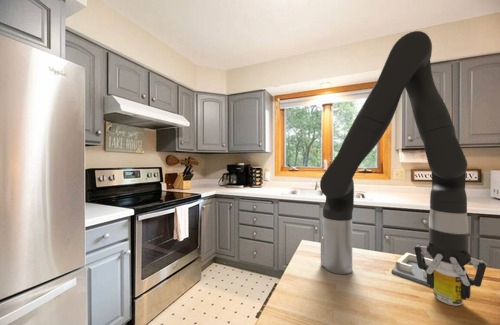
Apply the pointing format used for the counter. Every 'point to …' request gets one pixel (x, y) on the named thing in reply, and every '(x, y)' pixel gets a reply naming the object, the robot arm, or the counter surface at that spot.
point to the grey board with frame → (411, 268)
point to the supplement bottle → (447, 284)
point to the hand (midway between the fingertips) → (447, 292)
